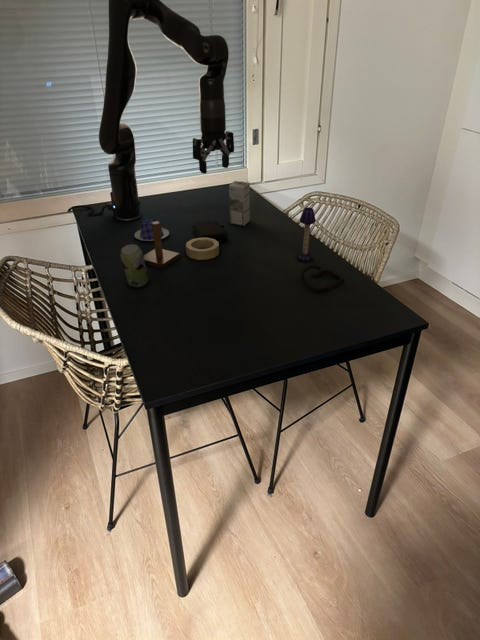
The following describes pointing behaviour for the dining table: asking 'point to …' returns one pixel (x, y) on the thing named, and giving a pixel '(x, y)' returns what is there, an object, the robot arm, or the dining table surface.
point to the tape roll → (202, 253)
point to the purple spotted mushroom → (306, 232)
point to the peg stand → (159, 251)
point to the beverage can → (134, 265)
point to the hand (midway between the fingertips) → (214, 170)
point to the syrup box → (239, 202)
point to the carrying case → (210, 230)
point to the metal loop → (319, 275)
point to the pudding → (149, 231)
